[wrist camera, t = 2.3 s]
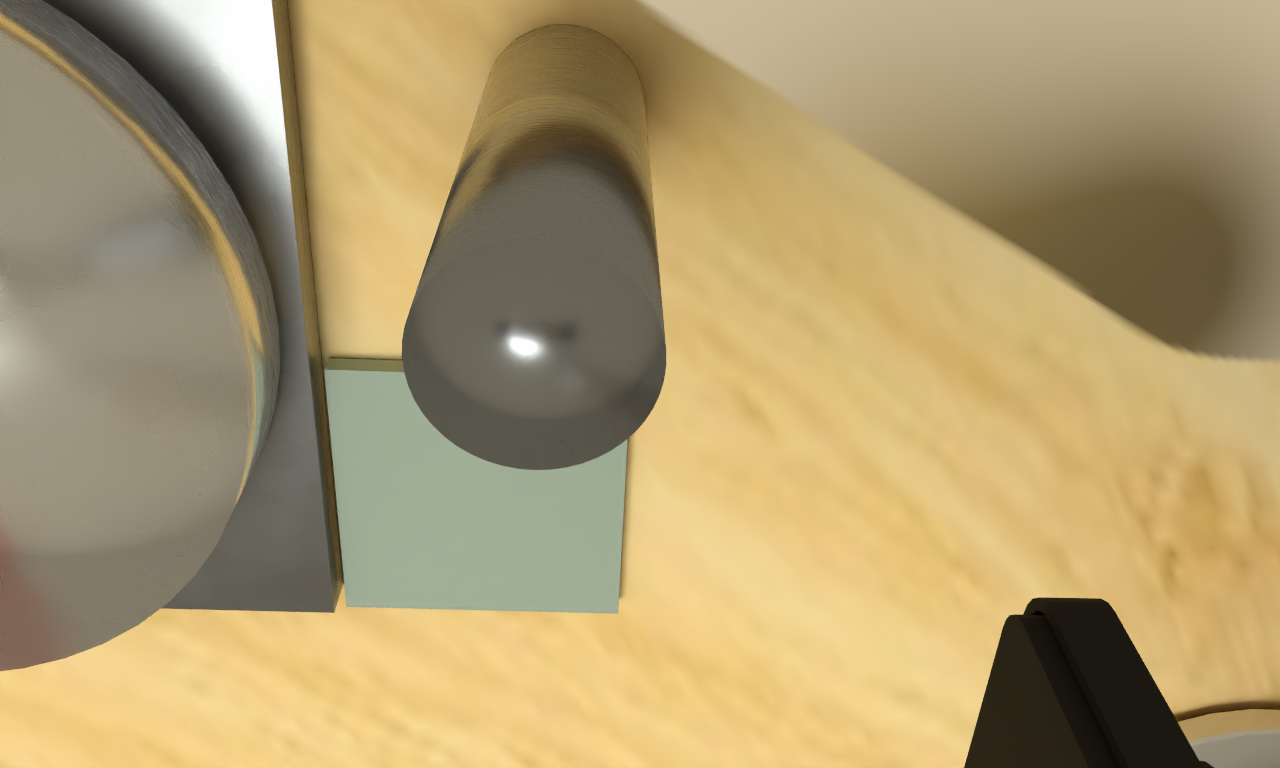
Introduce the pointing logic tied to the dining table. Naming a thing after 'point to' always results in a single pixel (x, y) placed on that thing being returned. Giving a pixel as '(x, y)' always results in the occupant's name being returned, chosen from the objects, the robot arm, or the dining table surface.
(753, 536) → the dining table surface
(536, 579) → the mat
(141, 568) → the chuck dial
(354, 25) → the dining table surface
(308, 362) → the base
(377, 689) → the dining table surface
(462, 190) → the chrome capsule
